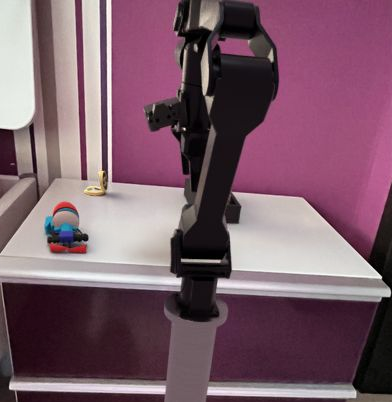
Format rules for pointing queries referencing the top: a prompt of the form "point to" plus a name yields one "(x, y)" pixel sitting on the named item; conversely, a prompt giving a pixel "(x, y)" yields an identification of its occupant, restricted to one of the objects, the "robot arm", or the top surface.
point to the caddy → (231, 210)
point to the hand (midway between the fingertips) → (189, 183)
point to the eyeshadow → (98, 190)
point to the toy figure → (65, 228)
